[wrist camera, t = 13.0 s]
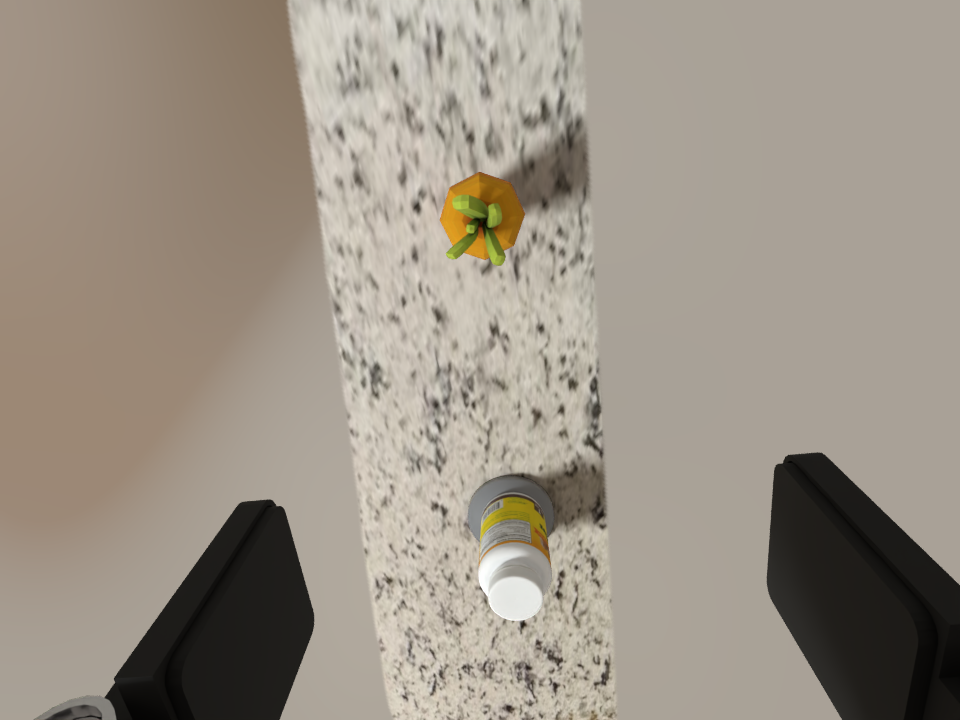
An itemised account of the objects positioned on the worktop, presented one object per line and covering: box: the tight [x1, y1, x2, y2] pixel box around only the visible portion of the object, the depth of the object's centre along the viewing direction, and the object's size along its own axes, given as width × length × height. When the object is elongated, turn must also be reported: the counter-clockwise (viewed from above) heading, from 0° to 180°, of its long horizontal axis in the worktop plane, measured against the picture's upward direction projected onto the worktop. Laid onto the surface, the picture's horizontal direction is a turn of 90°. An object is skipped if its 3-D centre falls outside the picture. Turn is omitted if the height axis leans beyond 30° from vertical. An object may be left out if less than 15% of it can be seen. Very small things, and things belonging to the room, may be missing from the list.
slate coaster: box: [468, 476, 554, 542], centre depth 51 cm, size 8×8×1 cm
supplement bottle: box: [478, 492, 552, 621], centre depth 46 cm, size 6×6×10 cm
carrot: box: [440, 172, 525, 266], centre depth 36 cm, size 5×5×15 cm
